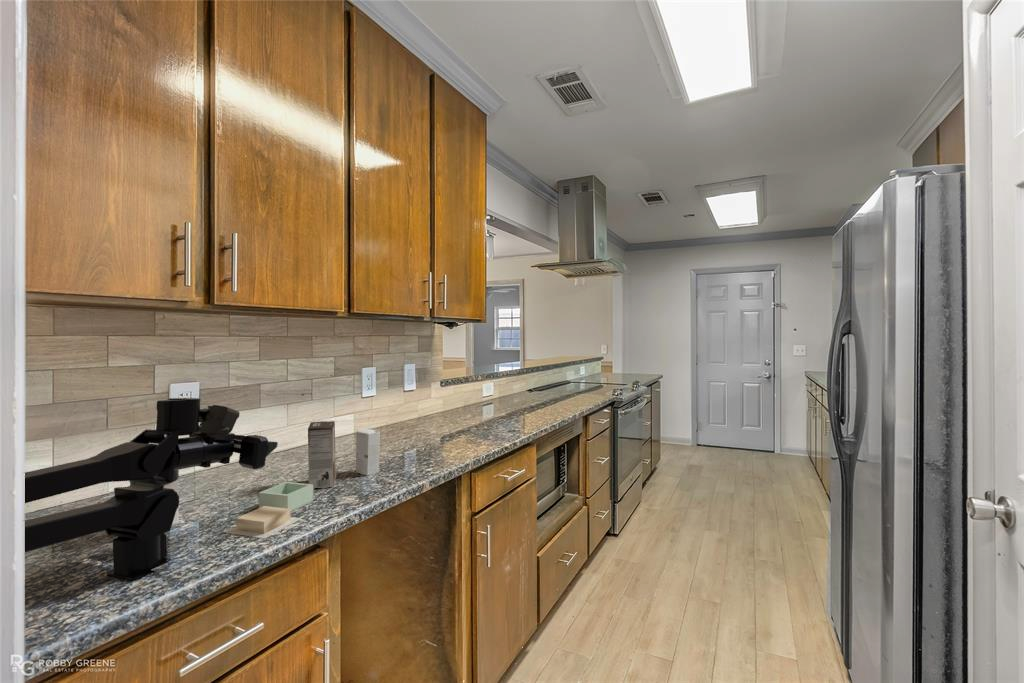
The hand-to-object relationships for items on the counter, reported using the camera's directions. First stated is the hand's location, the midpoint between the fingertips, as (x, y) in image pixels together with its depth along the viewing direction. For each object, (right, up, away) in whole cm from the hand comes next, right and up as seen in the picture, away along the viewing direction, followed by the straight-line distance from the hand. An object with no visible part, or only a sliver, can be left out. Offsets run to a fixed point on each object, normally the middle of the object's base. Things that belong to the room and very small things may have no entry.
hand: (260, 441), depth 103 cm
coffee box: (+5, -16, +21) cm, 27 cm away
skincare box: (+14, -16, +31) cm, 38 cm away
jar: (-19, -17, -6) cm, 26 cm away
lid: (+5, -16, -7) cm, 18 cm away
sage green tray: (+4, -16, +4) cm, 17 cm away
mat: (+5, -16, -7) cm, 19 cm away
